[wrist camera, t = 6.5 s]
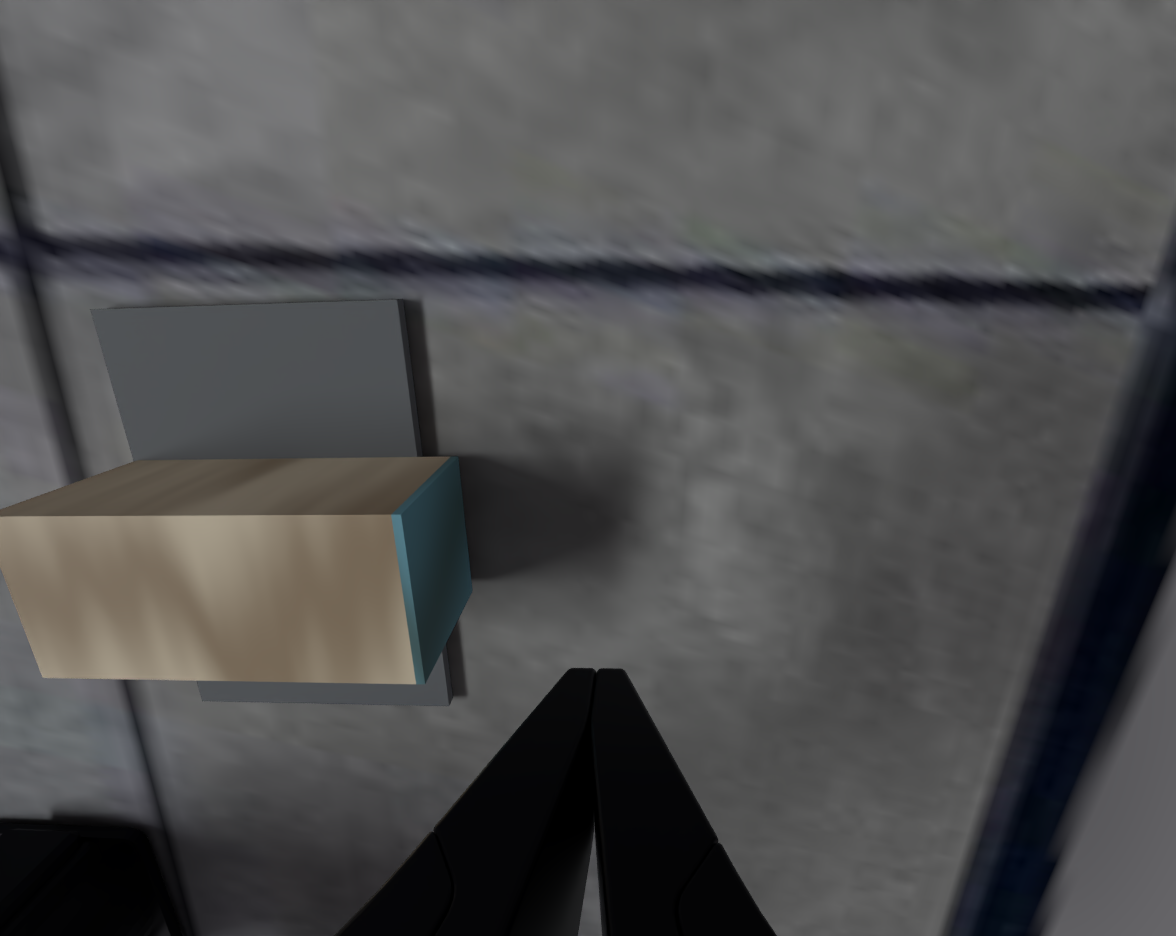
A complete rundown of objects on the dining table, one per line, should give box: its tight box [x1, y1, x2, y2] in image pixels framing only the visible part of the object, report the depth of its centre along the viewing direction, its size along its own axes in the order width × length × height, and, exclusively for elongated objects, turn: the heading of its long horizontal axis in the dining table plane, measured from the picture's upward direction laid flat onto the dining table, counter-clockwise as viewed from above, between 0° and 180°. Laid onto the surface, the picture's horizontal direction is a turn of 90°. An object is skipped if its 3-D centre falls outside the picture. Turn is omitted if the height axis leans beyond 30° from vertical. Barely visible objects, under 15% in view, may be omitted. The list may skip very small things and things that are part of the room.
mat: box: [90, 299, 453, 706], centre depth 16 cm, size 12×8×1 cm, turn 2°
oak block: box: [0, 456, 472, 684], centre depth 14 cm, size 4×4×9 cm
